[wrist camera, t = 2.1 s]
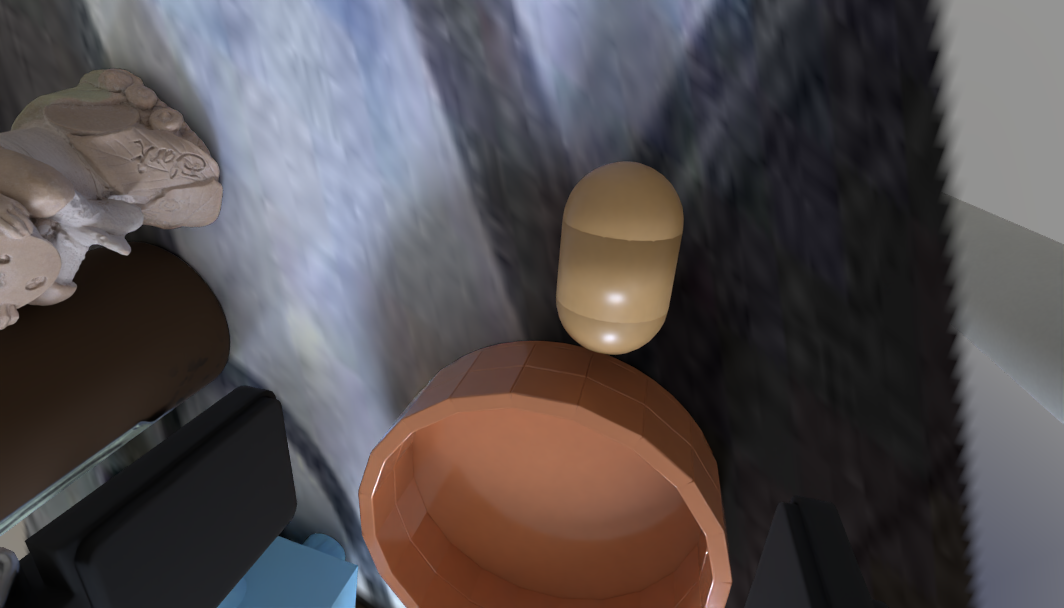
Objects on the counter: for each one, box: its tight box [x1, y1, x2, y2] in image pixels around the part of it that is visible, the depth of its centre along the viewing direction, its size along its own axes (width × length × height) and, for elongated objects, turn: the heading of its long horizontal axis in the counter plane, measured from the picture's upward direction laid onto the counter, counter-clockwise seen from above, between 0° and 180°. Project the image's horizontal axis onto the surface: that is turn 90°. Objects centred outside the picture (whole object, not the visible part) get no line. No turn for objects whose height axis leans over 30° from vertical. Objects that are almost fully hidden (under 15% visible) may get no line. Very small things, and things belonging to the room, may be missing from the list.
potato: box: [556, 161, 684, 355], centre depth 21 cm, size 8×5×5 cm, turn 176°
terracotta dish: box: [358, 341, 732, 608], centre depth 27 cm, size 18×18×5 cm
